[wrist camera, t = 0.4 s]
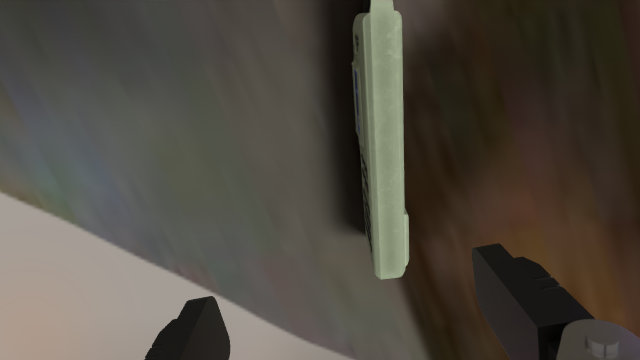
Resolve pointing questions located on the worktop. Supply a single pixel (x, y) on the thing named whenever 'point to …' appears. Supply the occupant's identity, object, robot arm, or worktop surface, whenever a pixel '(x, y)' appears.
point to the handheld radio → (381, 133)
